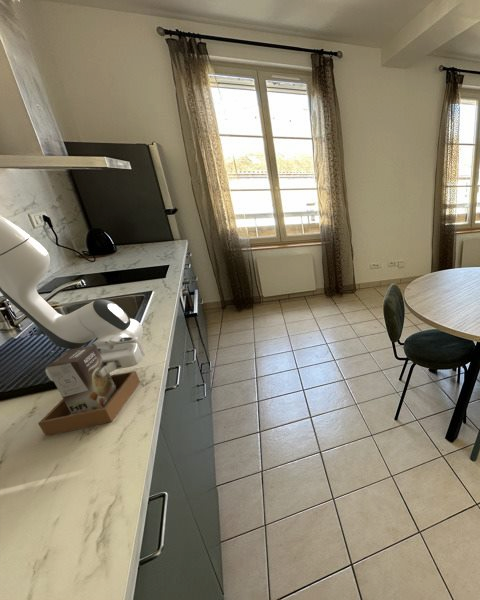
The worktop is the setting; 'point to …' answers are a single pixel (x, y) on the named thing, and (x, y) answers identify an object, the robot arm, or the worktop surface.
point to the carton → (64, 422)
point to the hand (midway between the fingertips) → (81, 378)
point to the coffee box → (82, 379)
